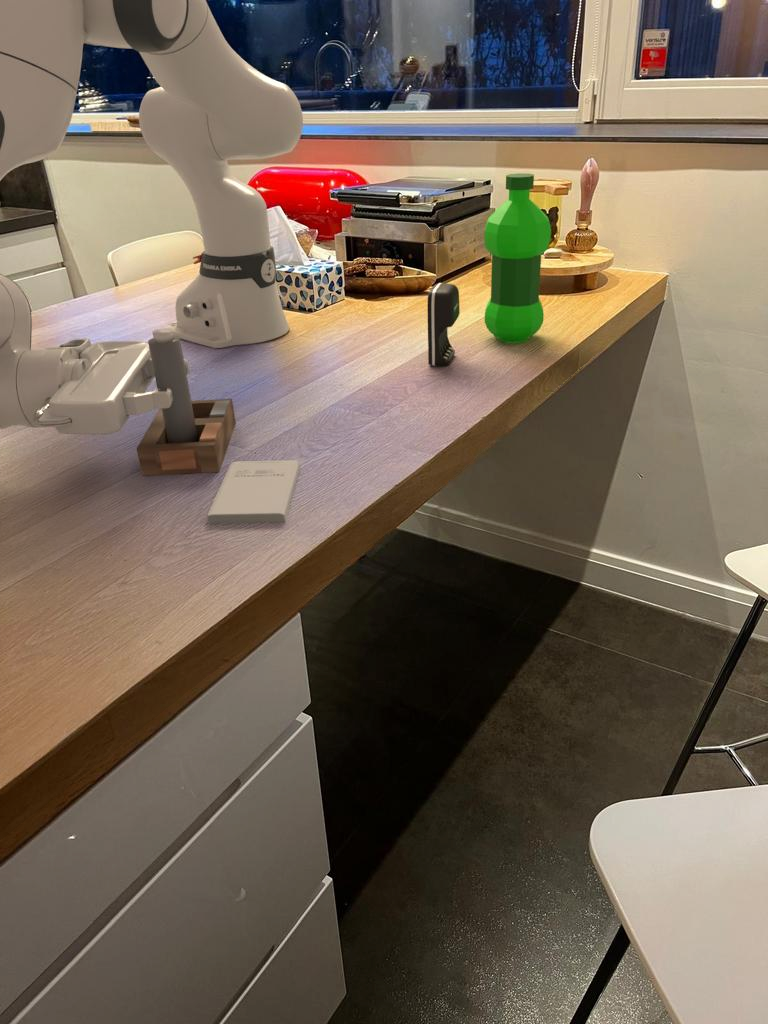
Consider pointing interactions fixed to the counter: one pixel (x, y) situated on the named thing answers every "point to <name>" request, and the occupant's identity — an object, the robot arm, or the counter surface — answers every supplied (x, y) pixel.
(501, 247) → the plastic bottle
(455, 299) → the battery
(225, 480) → the external hard drive
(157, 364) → the plug
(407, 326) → the counter surface
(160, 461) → the dock
